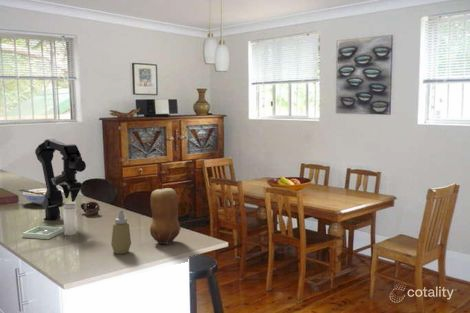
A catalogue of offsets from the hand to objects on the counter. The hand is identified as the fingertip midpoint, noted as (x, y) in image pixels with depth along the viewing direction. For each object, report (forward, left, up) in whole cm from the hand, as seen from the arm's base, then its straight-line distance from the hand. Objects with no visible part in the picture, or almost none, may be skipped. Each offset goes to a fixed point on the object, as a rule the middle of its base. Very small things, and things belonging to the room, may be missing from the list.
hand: (69, 199), depth 225 cm
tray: (-2, -20, -13) cm, 24 cm away
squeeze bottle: (+42, -34, -13) cm, 55 cm away
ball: (+1, -24, -12) cm, 27 cm away
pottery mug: (-1, +23, -13) cm, 27 cm away
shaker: (+9, -16, -13) cm, 22 cm away
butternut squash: (+56, -18, -13) cm, 60 cm away
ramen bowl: (-40, +41, -13) cm, 59 cm away
